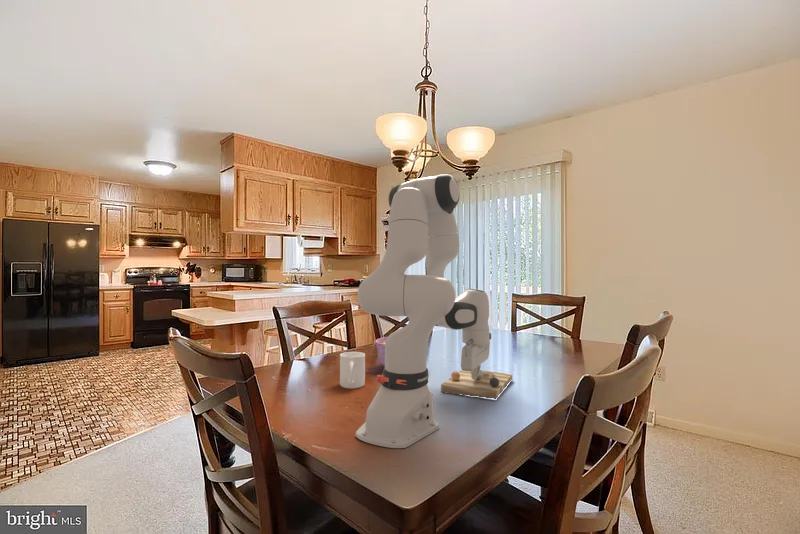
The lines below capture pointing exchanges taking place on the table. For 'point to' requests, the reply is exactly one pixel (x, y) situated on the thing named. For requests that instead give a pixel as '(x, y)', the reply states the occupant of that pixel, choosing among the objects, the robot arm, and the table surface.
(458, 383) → the board
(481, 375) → the ball
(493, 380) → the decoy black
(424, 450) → the table surface
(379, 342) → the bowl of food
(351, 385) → the mug
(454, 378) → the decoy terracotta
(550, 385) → the table surface
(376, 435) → the robot arm
